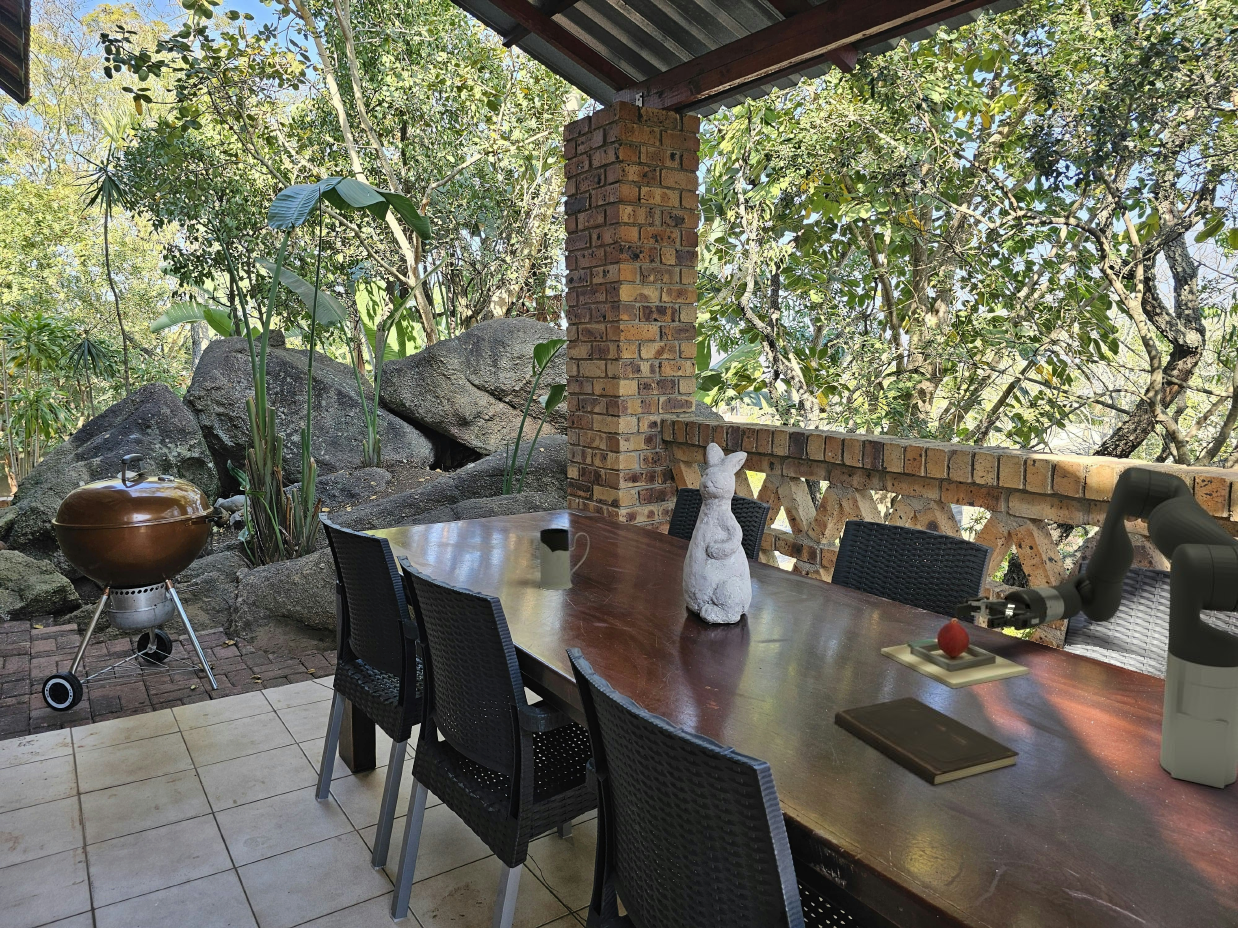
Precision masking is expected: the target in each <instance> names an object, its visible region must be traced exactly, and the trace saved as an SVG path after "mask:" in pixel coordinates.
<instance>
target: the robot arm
mask: <svg viewBox="0 0 1238 928" xmlns="http://www.w3.org/2000/svg"><path fill="white" fill-rule="evenodd" d="M1127 516H1128V517H1131V518H1137V519H1142V520H1147V522H1146V526H1147V527H1146V530H1147V533H1148V536H1149V538H1150V540H1151V542H1152V544H1154V546H1155V547H1156V549H1157V550H1158V552H1159V553H1160V554H1161V555H1162V556H1164V557H1165V558H1166V559H1168V560H1170V564H1169V565H1170V566H1169V613H1168V614H1169V615H1168V617H1169V618H1168V642H1167V652H1166V653H1167V655H1166V669H1165V682H1164V696H1163V698H1164V699H1163V711H1162V726H1161V741H1160V756H1159V764H1160V766H1161V767H1162V768H1163V770H1165V771H1166V772H1168V773H1170V776H1171V778H1174V779H1178V780H1179V779H1180V780H1184V781H1188V782H1193V783H1197V784H1201V785H1206V786H1211V787H1214V788H1220V789H1224V788H1225V786H1227V785H1230V784H1231V785H1232V784H1233V783H1234V782H1236V780H1237V775H1238V636H1237V635H1235V634H1233V633H1230V632H1227V631H1225V630H1223V629H1220V628H1217V627H1215V626H1213V625H1211V624H1209V623H1208V622H1206V621H1204V620H1203V619H1201V611H1213V612H1222V613H1223V612H1226V613H1238V539H1237V538H1236V537H1234V536H1233V535H1232V534H1230V532H1227V530H1226V529H1225V528H1223V526H1222V525H1220V524H1219V523H1218V521H1217V520H1216V519H1215V517H1213V515H1211V514H1210V512H1208V511H1207V509H1206V508H1204V507H1203V506H1201V504H1200V503H1199V502H1198V500H1197V499H1196V498H1195V497H1194V495H1193V492H1192V491H1191V489H1190V487H1189V485H1188V484H1187V482H1186V481H1185V479H1183V478H1182V477H1180V476H1179V475H1176V474H1175V473H1170V472H1164V471H1158V470H1154V469H1147V468H1143V467H1137V466H1135V467H1134V466H1130V467H1127V468H1125V469H1124V470H1123V471H1122V472H1121V474H1120V475H1119V476H1118V479H1117V480H1116V483H1115V485H1114V488H1113V490H1112V495H1111V497H1110V499H1109V504H1108V507H1107V510H1106V513H1105V517H1104V520H1103V524H1102V527H1101V531H1100V534H1099V537H1098V538H1099V539H1098V540H1097V543H1096V545H1095V546H1096V547H1095V549H1094V550H1093V552H1092V554H1091V555H1090V557H1089V560H1088V561H1087V564H1086V566H1085V570H1084V572H1081V573H1076V575H1074V576H1072V577H1071V578H1070V579H1068V580H1066V581H1064V582H1062V583H1060V584H1057V585H1050V586H1044V587H1043V586H1040V587H1038V586H1037V587H1029V588H1024V589H1017V590H1012V591H1010V592H1008V593H1007V594H1006V595H1005V596H1004V597H1003V599H1000V598H999V599H998V598H997V599H995V600H993V599H992V600H991V599H990V597H989V596H987V595H985V596H976V597H968V598H964V599H963V604H957V605H955V607H954V616H955V617H957V618H958V617H960V618H961V617H965V616H980V617H981V618H983V619H987V622H986V628H987V629H989V630H995V629H1001V628H1006V629H1012V628H1014V629H1013V630H1015V631H1016V632H1018V631H1019V632H1020V631H1024V630H1028V629H1033V628H1037V627H1039V626H1043V625H1048V624H1050V623H1051V624H1052V623H1055V622H1057V621H1063V620H1069V619H1072V618H1075V617H1077V616H1078V615H1079V614H1080V613H1081V612H1082V614H1083V615H1084V616H1085V617H1086V618H1087V619H1089V620H1090V621H1092V622H1095V623H1104V622H1106V621H1109V620H1110V619H1113V617H1114V616H1115V615H1116V613H1117V612H1118V611H1119V608H1120V607H1121V602H1122V595H1123V585H1124V583H1123V582H1124V580H1125V578H1126V576H1127V574H1128V573H1129V571H1130V569H1131V567H1132V565H1133V562H1134V559H1135V551H1134V546H1133V542H1132V540H1131V538H1130V535H1129V533H1128V531H1127V527H1126V524H1125V519H1126V517H1127ZM986 610H988V613H986Z"/></svg>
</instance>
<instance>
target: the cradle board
mask: <svg viewBox="0 0 1238 928" xmlns="http://www.w3.org/2000/svg"><path fill="white" fill-rule="evenodd" d="M880 654H881V655H884V656H885V657H887V658H889V659H891V660H893V661H895V662H898V663H900V664H902V665H903V666H906V667H907V668H910V669H912V670H914V671H916V672H918V673H920V674H922V675H925V676H927V677H929V678H930V679H933V680H934V681H937V682H938V683H941V684H943V685H945V686H947V687H949V688H950V689H958V688H965V687H968V686H974V685H978V684H983V683H987V682H988V683H989V682H993V681H998V680H1003V679H1007V678H1013V677H1018V676H1023V675H1028V674H1029V668H1028V667H1025V666H1024V665H1023V666H1022V665H1021V664H1018V663H1016V662H1013V661H1010V660H1009V659H1006V658H1004V657H1001V656H999V655H996V654H993V653H991V652H988V651H987V650H984V649H982V648H979V647H977V646H974V645H972V644H970V643H969V646H968V648H967V650H966V651H965V652H964V653H962V654H960V655H959V656H957V657H956V658H951V657H949V656H948V655H946V654H945V653H944V652H943V651H942V650H941V649H940V647H939V645H938V642H937V638H936V639H932V638H928V639H923V640H916V641H911V642H907V643H906V644H901V645H896V646H891V647H885V648H884V647H883V648H881V649H880Z"/></svg>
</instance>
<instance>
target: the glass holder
mask: <svg viewBox="0 0 1238 928" xmlns="http://www.w3.org/2000/svg"><path fill="white" fill-rule="evenodd" d="M569 532H570V531H569V529H568V528H567V529H566V528H561V527H559V528H558V527H554V528H552V527H551V528H543V529H541V530H540V531H539V535H540V536H539V560H540V561H539V562H540V564H539V566H540V584H539V586H540V588H542V589H546V590H562V591H565V590H564V589H567V590H569V588H570V589H572V587H573V584H572V581H571V579H572V577H571V576H572V574H573V573H574V572H575V571H576V570H577V569H578V568H579V567H580V566H581V565H582V563H583V562H584V561H585V559H586V558H587V556H588V553H589V550H590V549H589V548H590V537H589V536H588V534H586V533H585V532H578V533H577V534H576V535H574V537H573V541H572V542H573V544H572V545H573V546H572V547H571V548H570V534H569ZM580 535H584V536H585V537H586V538H587V547H586V550H585V553H584V555H583V557H582V559H581V560H580V562H578V563H577V565H576V566H575V567H573V569H572V570H571V559H570V558H571V552H570V551H573V550H574V549H575V547H576V540H577V538H578V537H579V536H580ZM540 588H539V589H540ZM542 589H541V590H542ZM546 590H545V591H546Z"/></svg>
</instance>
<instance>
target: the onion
mask: <svg viewBox="0 0 1238 928" xmlns="http://www.w3.org/2000/svg"><path fill="white" fill-rule="evenodd" d="M936 639H937V642H938V645H939V647H940V649H941V650H942V651H943V652H944V653H945V654H946V655H948V656H949V657H951V658H956V657H957V656H959V655H960V654H962V653H964V652H965V651H966V650H967V648H968V646H969V644H970V636H969V634H968V631H967V630H966V629H965V628H964V627H963V626H962V625H961V624H960V623H959V619H958V617H957V618H952V619H951V620H950V622H948V623H945V624H944V625H943V626H942V627H941V628H940V629H939V631H938V633H937V636H936Z"/></svg>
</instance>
